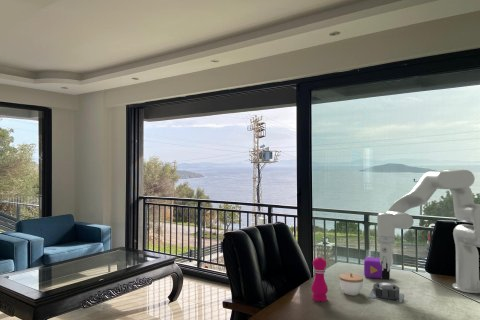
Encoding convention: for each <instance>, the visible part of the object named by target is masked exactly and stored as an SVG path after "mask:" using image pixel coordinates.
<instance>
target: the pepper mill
mask: <svg viewBox="0 0 480 320" xmlns="http://www.w3.org/2000/svg"><path fill="white" fill-rule="evenodd" d="M312 266H313V267H314V268H313V272H314V280H313V282H312V284H311V288H310V289H311V292H312V300H313V301H315V302H320V301H321V302H326V301H327V294H328V291H329V289H328V285H327V283H326V281H325V273H326V267H327V261H326V259H325V258H323V257H322V254H318V255H317V257H315V258H314V259H313V260H312Z"/></svg>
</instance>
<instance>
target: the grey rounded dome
mask: <svg viewBox="0 0 480 320" xmlns="http://www.w3.org/2000/svg"><path fill="white" fill-rule="evenodd" d="M378 283H379V288H382V289H387V290H393V285H394V284H393V283H390V282H378Z"/></svg>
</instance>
